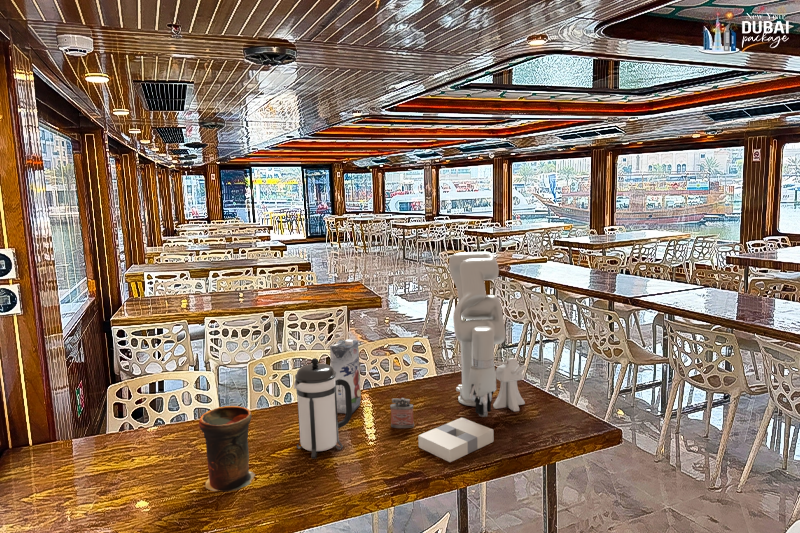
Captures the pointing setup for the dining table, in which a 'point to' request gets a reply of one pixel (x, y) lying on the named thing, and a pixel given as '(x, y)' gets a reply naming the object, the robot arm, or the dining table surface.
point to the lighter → (401, 413)
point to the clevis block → (455, 439)
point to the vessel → (227, 447)
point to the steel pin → (484, 405)
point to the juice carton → (346, 372)
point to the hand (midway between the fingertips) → (483, 411)
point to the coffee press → (319, 407)
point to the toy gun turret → (509, 384)
